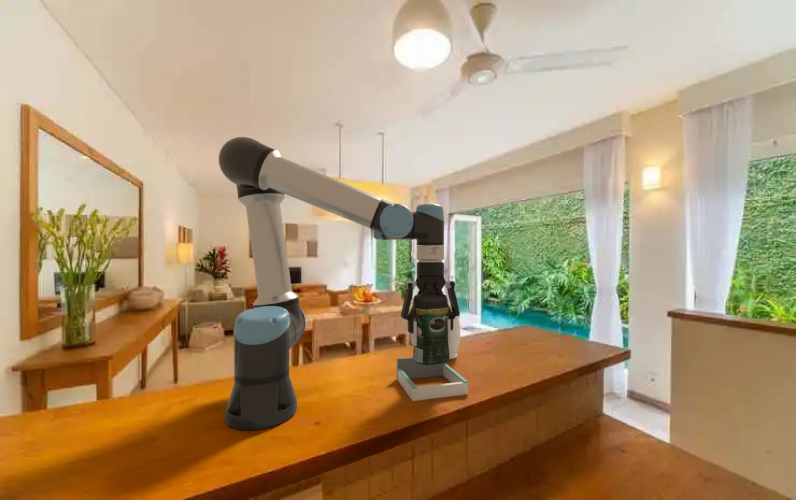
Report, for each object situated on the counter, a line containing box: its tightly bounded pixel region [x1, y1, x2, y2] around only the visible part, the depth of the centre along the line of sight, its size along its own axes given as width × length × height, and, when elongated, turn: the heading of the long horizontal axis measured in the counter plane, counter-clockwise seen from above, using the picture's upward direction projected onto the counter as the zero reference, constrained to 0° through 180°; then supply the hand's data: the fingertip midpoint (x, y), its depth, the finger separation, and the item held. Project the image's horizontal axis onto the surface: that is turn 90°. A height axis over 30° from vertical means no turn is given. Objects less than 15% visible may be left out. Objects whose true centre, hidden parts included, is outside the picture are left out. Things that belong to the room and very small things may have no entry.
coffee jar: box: [412, 294, 451, 366], centre depth 93 cm, size 10×8×19 cm
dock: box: [396, 356, 469, 402], centre depth 93 cm, size 15×15×6 cm
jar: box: [448, 314, 461, 360], centre depth 120 cm, size 11×10×15 cm
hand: (430, 343), depth 93 cm, fingers closed on coffee jar, 9 cm apart
